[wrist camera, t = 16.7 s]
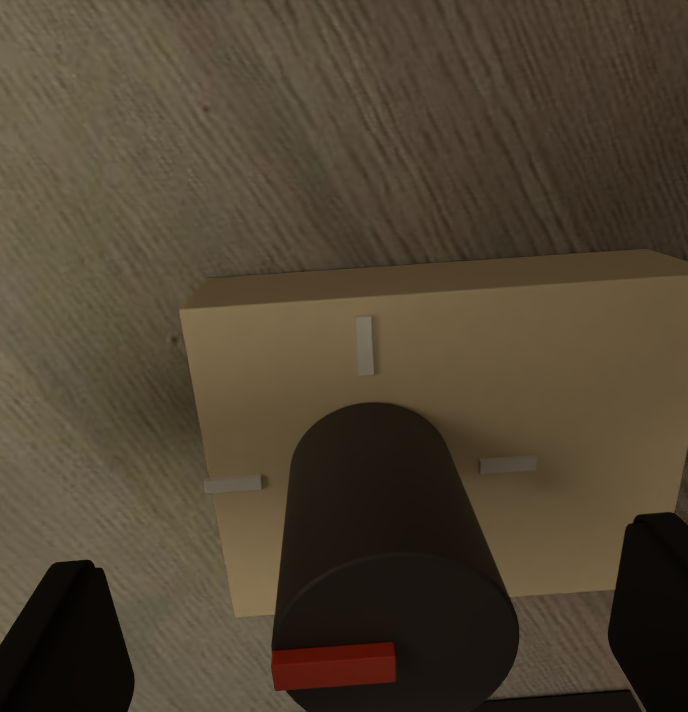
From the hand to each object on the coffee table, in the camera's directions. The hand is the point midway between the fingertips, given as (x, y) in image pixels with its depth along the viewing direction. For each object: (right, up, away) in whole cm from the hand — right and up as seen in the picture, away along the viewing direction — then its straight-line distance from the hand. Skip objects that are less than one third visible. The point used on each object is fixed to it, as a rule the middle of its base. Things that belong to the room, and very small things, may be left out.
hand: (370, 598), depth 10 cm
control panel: (+2, +3, +6) cm, 7 cm away
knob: (0, +1, +4) cm, 4 cm away
